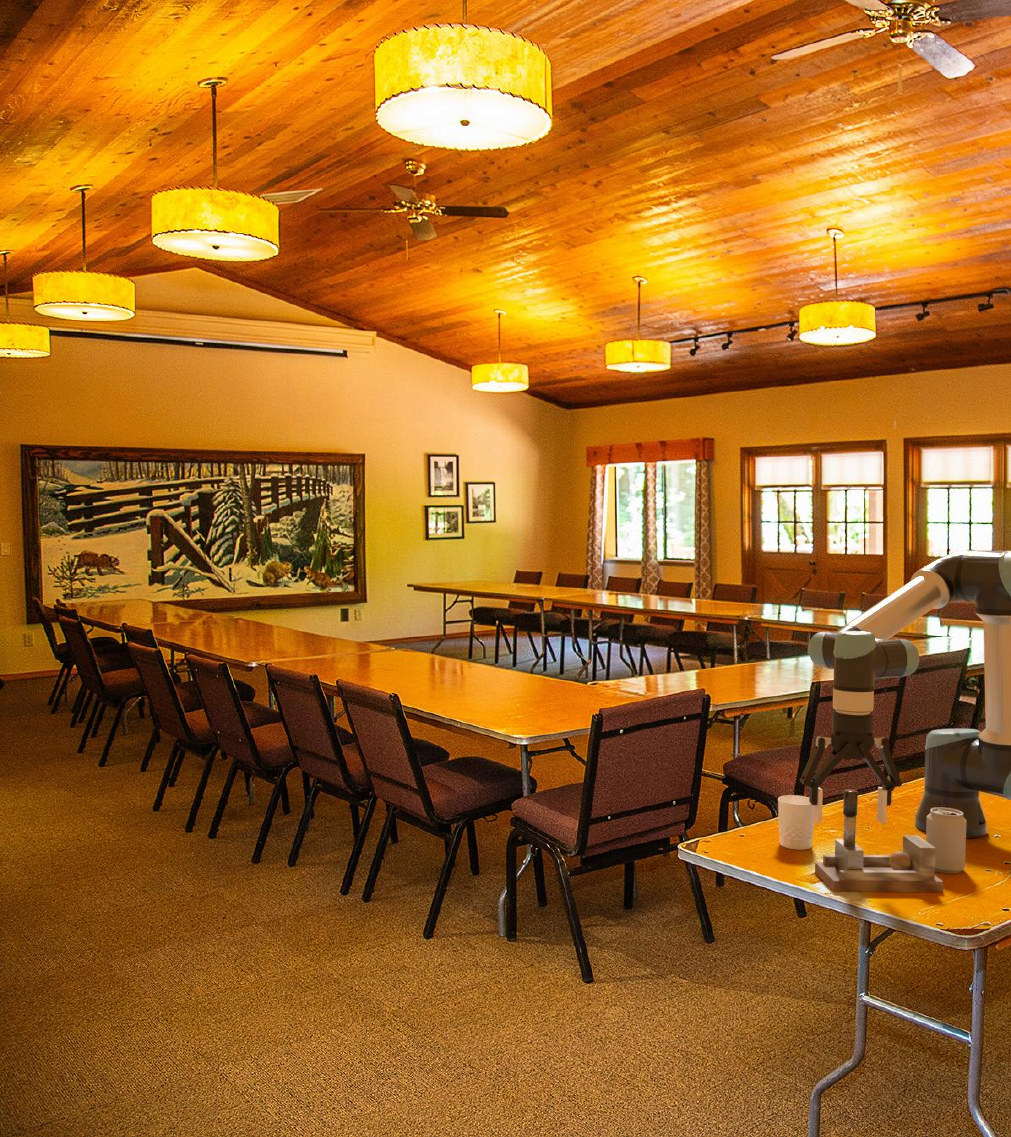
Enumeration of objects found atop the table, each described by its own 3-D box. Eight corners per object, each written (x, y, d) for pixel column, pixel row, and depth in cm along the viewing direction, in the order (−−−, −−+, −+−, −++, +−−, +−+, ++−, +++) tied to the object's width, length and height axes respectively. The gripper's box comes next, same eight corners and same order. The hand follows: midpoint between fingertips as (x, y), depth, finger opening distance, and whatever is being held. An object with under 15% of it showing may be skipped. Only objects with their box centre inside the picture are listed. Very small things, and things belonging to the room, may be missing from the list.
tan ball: (903, 870, 204) (907, 850, 204) (912, 876, 200) (916, 856, 200) (883, 866, 204) (888, 846, 204) (892, 873, 200) (896, 853, 200)
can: (961, 877, 205) (963, 817, 205) (921, 870, 209) (923, 811, 209) (967, 867, 212) (969, 809, 211) (928, 860, 216) (930, 803, 215)
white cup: (816, 852, 220) (817, 805, 220) (777, 849, 222) (779, 803, 221) (812, 841, 228) (814, 796, 228) (775, 838, 229) (777, 794, 229)
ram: (849, 864, 205) (851, 786, 205) (862, 876, 198) (865, 796, 198) (834, 863, 205) (836, 786, 205) (847, 876, 198) (849, 796, 198)
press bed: (918, 872, 208) (919, 833, 208) (943, 892, 197) (944, 850, 197) (814, 872, 207) (815, 832, 207) (833, 891, 196) (834, 849, 196)
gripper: (906, 708, 205) (903, 816, 206) (785, 707, 204) (782, 815, 205) (922, 715, 197) (919, 827, 198) (796, 714, 197) (793, 826, 197)
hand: (849, 821), depth 201 cm, fingers open, 12 cm apart
